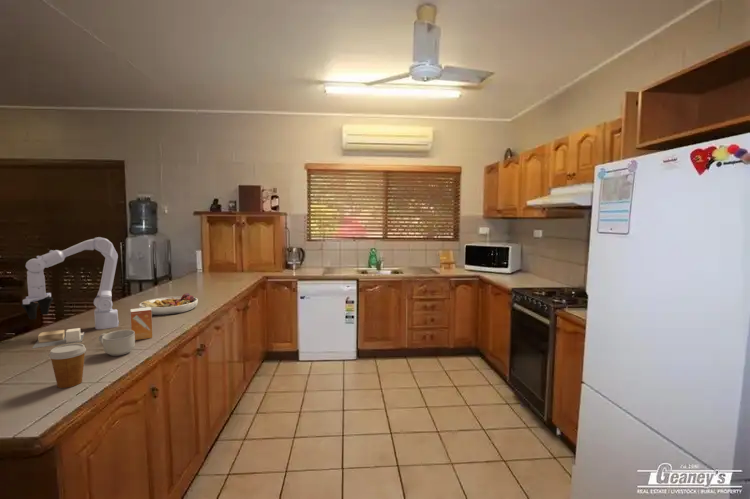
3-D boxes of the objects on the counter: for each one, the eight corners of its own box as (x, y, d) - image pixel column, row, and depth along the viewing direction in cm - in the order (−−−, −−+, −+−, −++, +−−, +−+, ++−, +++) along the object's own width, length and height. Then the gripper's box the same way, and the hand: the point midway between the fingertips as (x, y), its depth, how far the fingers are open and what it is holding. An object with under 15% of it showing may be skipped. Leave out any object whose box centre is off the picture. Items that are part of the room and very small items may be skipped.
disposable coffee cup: (64, 378, 128) (62, 343, 127) (94, 377, 129) (92, 342, 128) (42, 390, 119) (40, 353, 118) (75, 390, 120) (73, 352, 119)
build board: (85, 333, 176) (85, 331, 176) (81, 343, 163) (81, 341, 163) (39, 339, 168) (39, 337, 168) (32, 350, 154) (31, 348, 154)
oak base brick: (65, 336, 170) (64, 329, 170) (63, 339, 165) (62, 333, 165) (41, 339, 166) (41, 332, 166) (38, 343, 161) (38, 336, 161)
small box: (131, 341, 167) (130, 311, 166) (131, 337, 172) (129, 308, 171) (153, 338, 171) (151, 309, 170) (152, 334, 176) (150, 306, 175)
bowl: (166, 318, 204) (166, 304, 203) (127, 313, 215) (126, 299, 214) (209, 306, 232) (208, 293, 231) (172, 302, 243) (172, 290, 242)
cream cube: (80, 337, 168) (80, 327, 167) (79, 340, 164) (79, 330, 164) (67, 339, 165) (67, 329, 165) (66, 342, 162) (65, 332, 161)
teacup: (142, 350, 155) (141, 331, 155) (116, 359, 145) (115, 339, 144) (117, 346, 160) (116, 327, 159) (90, 355, 150) (89, 335, 149)
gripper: (37, 283, 173) (40, 312, 174) (13, 289, 158) (16, 321, 160) (55, 283, 174) (57, 312, 175) (32, 289, 160) (35, 320, 161)
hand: (38, 316), depth 167 cm, fingers open, 7 cm apart
